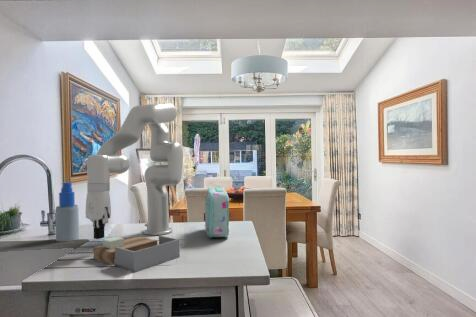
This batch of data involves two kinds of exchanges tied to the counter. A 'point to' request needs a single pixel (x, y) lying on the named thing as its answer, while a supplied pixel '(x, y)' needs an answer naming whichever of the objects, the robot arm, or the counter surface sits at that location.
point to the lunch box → (216, 212)
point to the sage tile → (113, 242)
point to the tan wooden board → (129, 244)
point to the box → (147, 255)
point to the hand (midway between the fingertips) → (99, 238)
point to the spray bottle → (67, 215)
